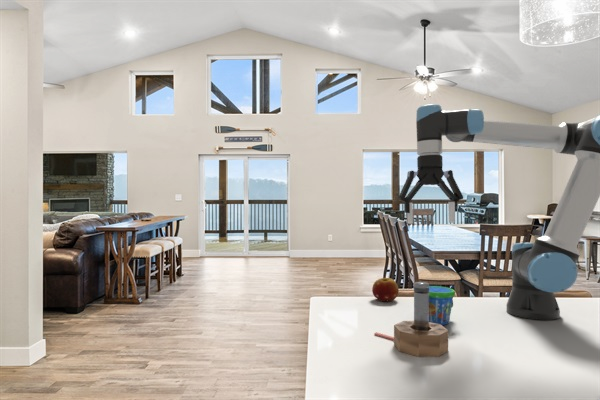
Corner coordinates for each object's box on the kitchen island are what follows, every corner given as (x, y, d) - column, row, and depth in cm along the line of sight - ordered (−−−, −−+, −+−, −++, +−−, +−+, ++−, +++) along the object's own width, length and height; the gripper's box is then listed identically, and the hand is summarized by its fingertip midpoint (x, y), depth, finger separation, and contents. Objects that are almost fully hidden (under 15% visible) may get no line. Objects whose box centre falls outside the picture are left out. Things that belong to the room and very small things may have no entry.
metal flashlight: (426, 345, 105) (426, 282, 105) (431, 350, 101) (431, 284, 101) (411, 345, 105) (411, 282, 105) (416, 350, 101) (416, 284, 101)
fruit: (372, 302, 150) (372, 280, 150) (372, 297, 158) (372, 276, 159) (399, 303, 148) (399, 281, 148) (397, 297, 157) (397, 276, 157)
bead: (435, 339, 109) (435, 320, 109) (454, 356, 97) (454, 334, 97) (390, 340, 109) (390, 321, 109) (404, 357, 97) (404, 335, 97)
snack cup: (438, 314, 133) (438, 283, 133) (467, 322, 125) (467, 289, 125) (404, 322, 125) (404, 288, 125) (433, 331, 116) (433, 295, 116)
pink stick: (415, 345, 105) (415, 343, 105) (413, 346, 104) (413, 344, 104) (376, 334, 114) (376, 332, 114) (374, 335, 113) (374, 333, 113)
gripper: (461, 156, 134) (463, 221, 134) (387, 157, 132) (388, 223, 132) (473, 153, 127) (475, 222, 127) (395, 154, 124) (396, 224, 124)
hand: (431, 223), depth 129 cm, fingers open, 13 cm apart
